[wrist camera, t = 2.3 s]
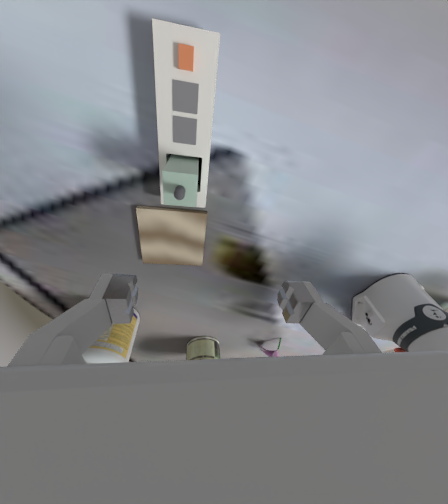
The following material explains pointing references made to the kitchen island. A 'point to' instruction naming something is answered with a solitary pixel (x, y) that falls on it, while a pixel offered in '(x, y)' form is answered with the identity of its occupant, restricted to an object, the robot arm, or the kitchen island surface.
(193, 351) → the coffee can
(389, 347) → the kitchen island surface
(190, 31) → the power strip
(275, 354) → the lily
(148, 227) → the coaster
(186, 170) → the grey-green tall block
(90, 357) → the supplement tub
